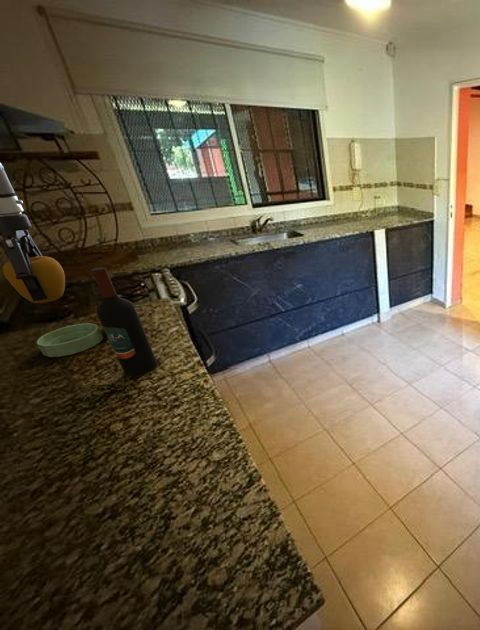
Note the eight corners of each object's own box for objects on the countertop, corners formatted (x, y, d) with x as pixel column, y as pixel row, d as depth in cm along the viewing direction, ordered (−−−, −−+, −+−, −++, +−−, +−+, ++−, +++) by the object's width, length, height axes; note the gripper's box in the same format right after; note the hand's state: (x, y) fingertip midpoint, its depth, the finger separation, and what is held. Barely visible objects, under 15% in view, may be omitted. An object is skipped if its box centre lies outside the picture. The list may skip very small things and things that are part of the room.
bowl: (30, 359, 102) (22, 346, 100) (71, 335, 114) (65, 323, 112) (79, 358, 102) (72, 345, 100) (114, 334, 115) (109, 323, 113)
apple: (78, 289, 106) (58, 248, 100) (69, 301, 98) (47, 258, 92) (28, 297, 101) (5, 254, 95) (15, 310, 92) (-12, 264, 87)
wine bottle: (161, 369, 97) (121, 268, 84) (128, 381, 92) (80, 276, 79) (154, 359, 102) (114, 262, 88) (122, 370, 97) (75, 269, 83)
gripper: (12, 220, 82) (55, 303, 92) (34, 207, 99) (69, 279, 109) (-35, 223, 78) (15, 310, 88) (-4, 209, 95) (35, 284, 105)
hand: (45, 293), depth 98 cm, fingers closed on apple, 11 cm apart
